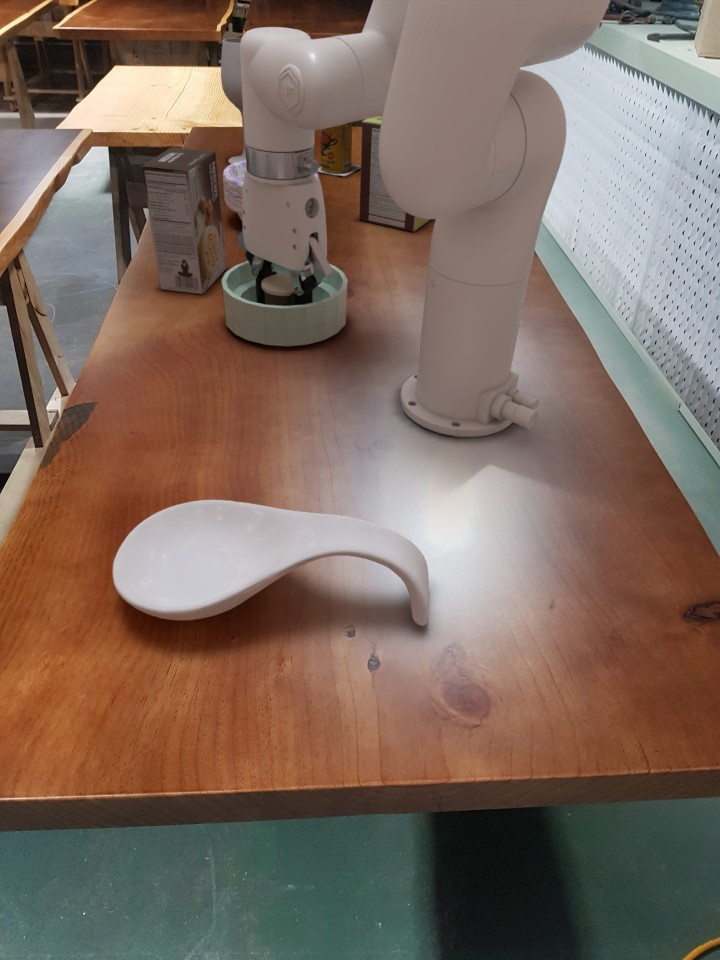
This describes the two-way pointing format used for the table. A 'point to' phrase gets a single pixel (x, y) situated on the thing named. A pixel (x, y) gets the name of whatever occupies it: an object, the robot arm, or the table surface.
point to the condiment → (337, 150)
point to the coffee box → (185, 218)
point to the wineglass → (233, 81)
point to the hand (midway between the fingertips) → (284, 311)
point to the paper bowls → (235, 185)
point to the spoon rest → (246, 556)
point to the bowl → (283, 309)
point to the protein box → (379, 185)
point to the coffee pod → (278, 289)
